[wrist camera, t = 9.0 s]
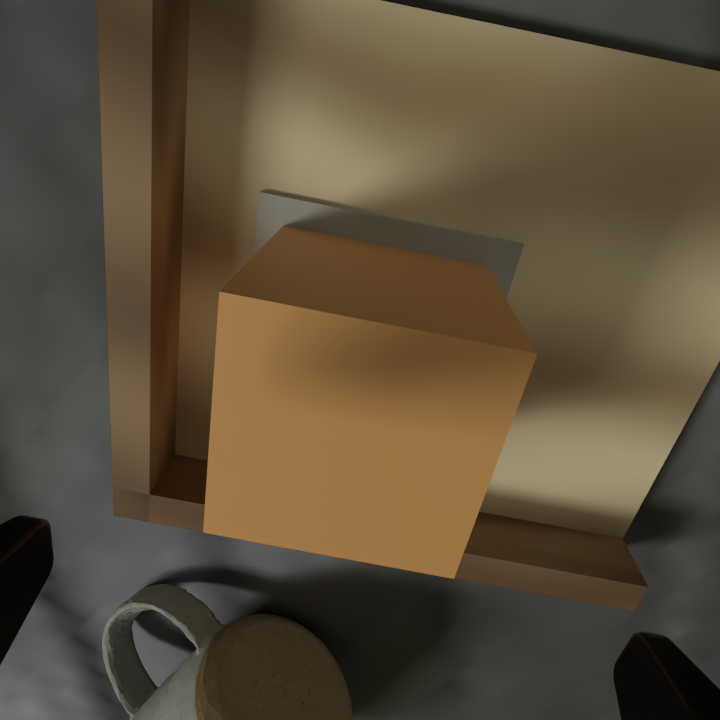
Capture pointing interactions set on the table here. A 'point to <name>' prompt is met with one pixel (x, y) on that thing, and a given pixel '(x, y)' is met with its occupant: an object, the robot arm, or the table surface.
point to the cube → (360, 400)
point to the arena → (419, 239)
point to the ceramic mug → (225, 666)
